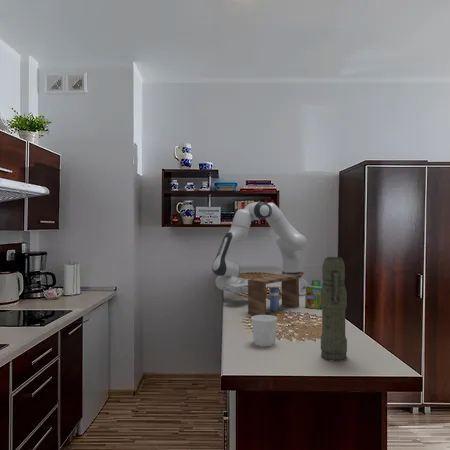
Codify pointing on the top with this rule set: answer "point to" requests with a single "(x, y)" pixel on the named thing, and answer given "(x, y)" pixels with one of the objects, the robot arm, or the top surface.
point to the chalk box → (313, 295)
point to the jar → (274, 299)
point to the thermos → (333, 310)
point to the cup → (264, 329)
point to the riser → (259, 292)
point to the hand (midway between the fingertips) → (255, 288)
